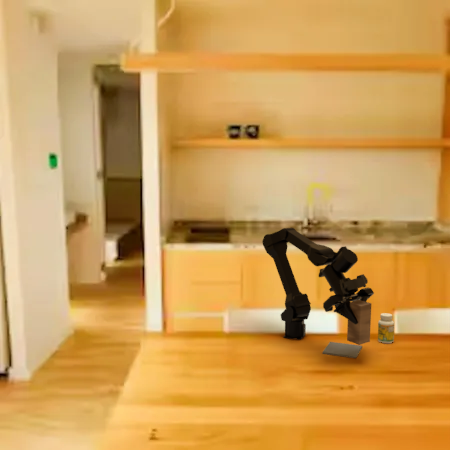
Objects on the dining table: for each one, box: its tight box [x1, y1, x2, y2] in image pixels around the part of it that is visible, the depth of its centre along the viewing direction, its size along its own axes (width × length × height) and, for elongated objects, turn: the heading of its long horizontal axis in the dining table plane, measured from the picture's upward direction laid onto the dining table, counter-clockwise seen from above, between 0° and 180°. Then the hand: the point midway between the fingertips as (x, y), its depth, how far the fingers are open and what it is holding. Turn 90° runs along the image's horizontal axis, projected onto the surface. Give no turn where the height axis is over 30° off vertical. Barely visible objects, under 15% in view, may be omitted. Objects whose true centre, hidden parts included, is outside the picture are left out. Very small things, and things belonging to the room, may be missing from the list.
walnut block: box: [346, 300, 372, 346], centre depth 186 cm, size 5×5×12 cm
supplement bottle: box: [377, 312, 395, 344], centre depth 205 cm, size 5×5×10 cm
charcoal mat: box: [322, 341, 363, 359], centre depth 197 cm, size 11×11×1 cm
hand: (362, 322), depth 185 cm, fingers closed on walnut block, 5 cm apart
